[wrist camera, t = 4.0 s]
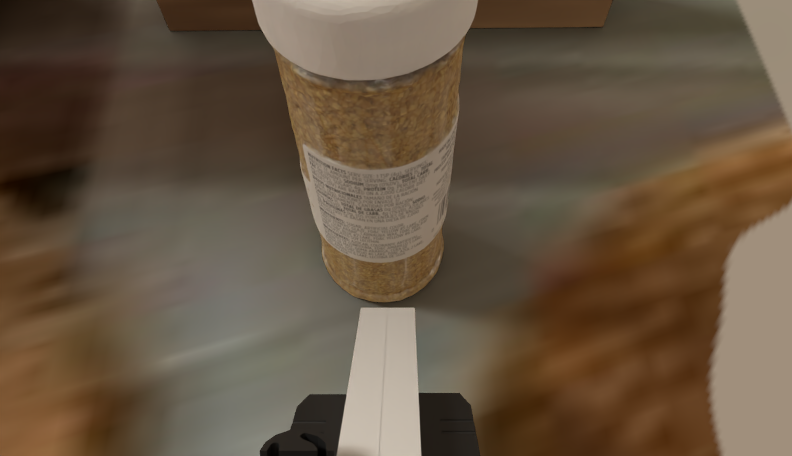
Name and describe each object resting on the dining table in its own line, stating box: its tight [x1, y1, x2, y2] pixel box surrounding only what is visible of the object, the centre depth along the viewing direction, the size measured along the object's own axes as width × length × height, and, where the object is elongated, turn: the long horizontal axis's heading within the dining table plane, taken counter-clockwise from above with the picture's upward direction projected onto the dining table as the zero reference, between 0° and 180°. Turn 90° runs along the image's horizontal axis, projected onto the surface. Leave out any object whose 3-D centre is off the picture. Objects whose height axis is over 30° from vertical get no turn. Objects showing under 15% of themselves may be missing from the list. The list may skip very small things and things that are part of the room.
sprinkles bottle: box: [252, 0, 478, 302], centre depth 17 cm, size 5×5×14 cm
